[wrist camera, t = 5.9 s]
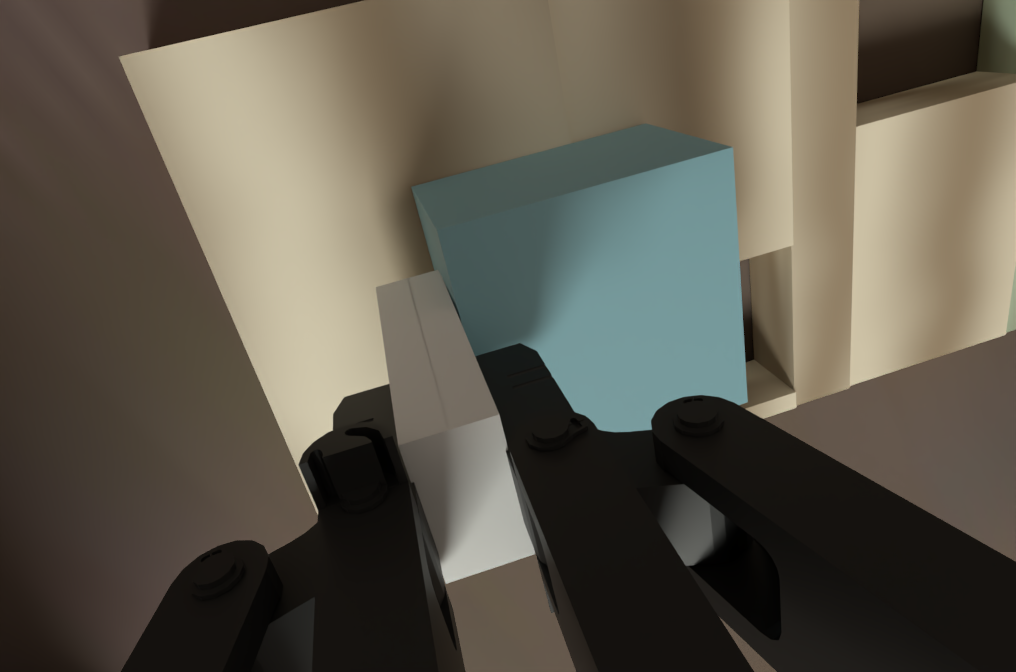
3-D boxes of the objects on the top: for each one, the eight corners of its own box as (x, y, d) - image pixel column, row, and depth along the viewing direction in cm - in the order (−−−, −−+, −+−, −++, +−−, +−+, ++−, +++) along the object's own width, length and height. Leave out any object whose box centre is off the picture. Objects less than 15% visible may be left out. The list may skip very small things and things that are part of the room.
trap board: (337, 507, 22) (338, 618, 18) (148, 53, 16) (82, 61, 12) (1068, 273, 25) (1213, 321, 21) (1150, -177, 19) (1376, -235, 15)
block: (469, 398, 19) (504, 484, 15) (411, 186, 16) (436, 230, 12) (669, 335, 19) (747, 402, 16) (645, 123, 17) (732, 147, 13)
